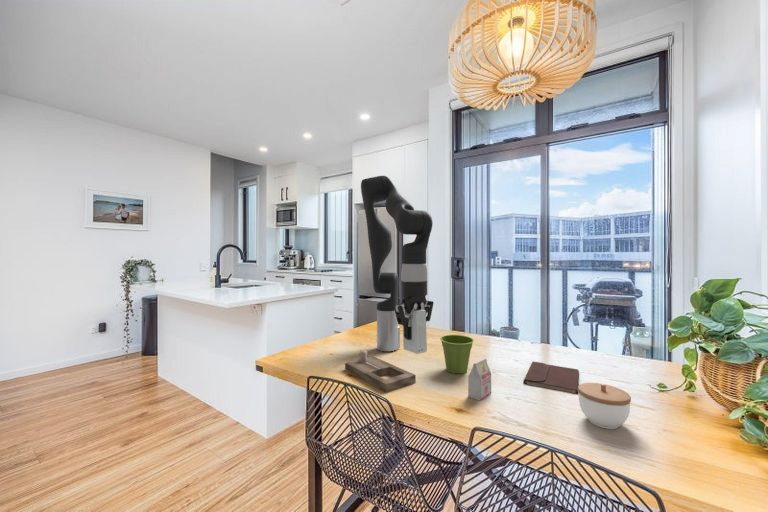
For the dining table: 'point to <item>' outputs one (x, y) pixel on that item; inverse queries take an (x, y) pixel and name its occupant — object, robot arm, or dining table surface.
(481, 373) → the milk carton
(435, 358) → the dining table surface
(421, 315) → the skincare box
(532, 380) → the notebook
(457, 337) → the plant pot
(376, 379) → the brown piece
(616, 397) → the lidded jar
